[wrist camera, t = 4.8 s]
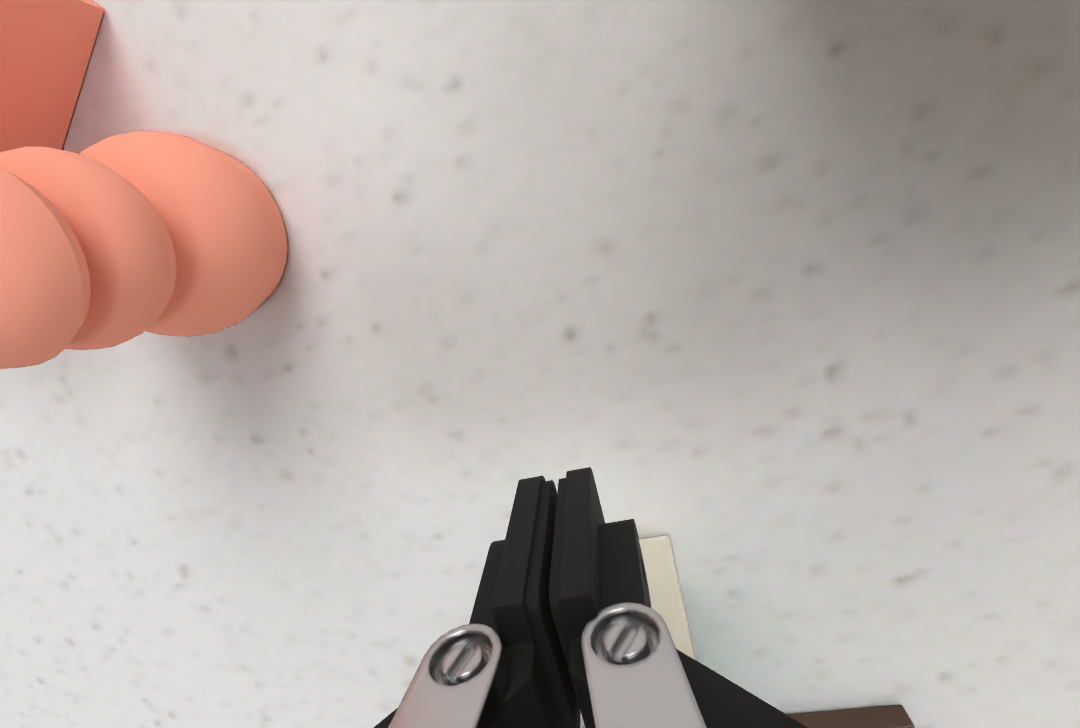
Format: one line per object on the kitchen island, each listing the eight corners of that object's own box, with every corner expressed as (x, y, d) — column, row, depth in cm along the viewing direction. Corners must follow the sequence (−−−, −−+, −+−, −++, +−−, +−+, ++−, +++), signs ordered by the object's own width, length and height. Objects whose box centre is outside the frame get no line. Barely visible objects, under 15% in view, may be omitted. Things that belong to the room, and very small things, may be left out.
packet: (584, 546, 22) (578, 701, 15) (669, 533, 21) (701, 690, 15) (630, 722, 25) (643, 916, 18) (706, 715, 24) (748, 913, 18)
